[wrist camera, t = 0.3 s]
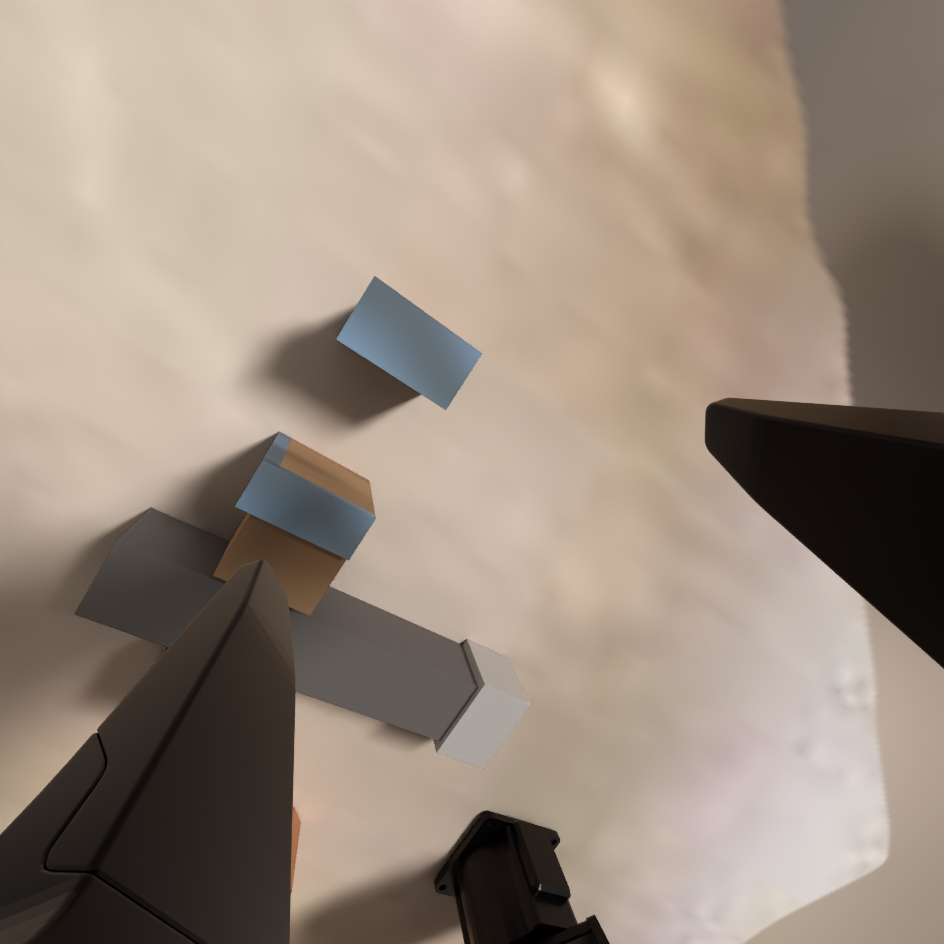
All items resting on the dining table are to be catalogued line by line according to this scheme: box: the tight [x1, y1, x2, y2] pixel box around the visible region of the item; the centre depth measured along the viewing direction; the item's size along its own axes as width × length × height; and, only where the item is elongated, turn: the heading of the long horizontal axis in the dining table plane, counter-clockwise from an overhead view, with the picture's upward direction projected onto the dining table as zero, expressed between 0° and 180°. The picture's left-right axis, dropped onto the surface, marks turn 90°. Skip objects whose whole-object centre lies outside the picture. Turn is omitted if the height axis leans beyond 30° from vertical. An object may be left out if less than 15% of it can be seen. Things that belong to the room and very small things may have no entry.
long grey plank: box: [74, 508, 531, 769], centre depth 24 cm, size 20×4×4 cm, turn 56°
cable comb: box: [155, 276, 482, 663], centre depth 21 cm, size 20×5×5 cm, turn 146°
